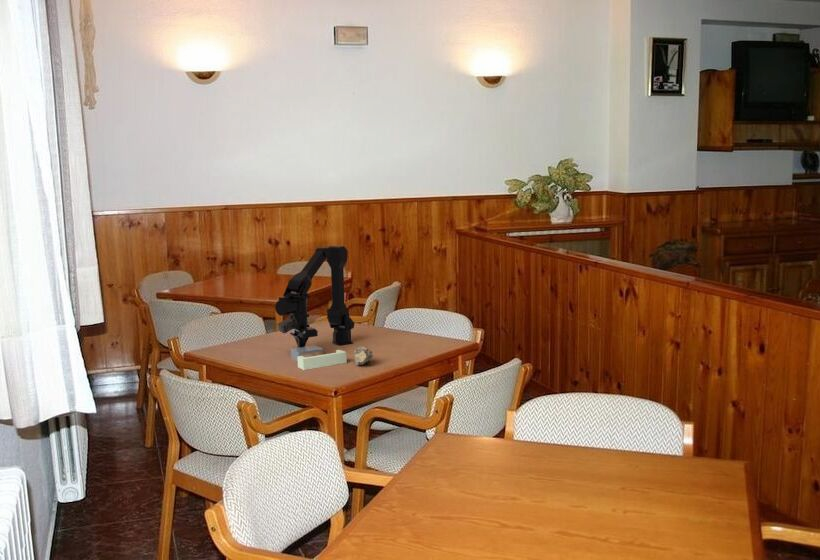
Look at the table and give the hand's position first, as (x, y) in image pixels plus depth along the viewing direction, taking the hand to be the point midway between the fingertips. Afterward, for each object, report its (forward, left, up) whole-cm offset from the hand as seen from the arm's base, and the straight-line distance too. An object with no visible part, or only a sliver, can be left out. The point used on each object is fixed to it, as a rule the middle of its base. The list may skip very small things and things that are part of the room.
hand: (300, 351), depth 318 cm
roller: (0, +13, 0) cm, 13 cm away
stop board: (0, +18, -2) cm, 18 cm away
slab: (0, +5, -2) cm, 5 cm away
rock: (-13, +25, -2) cm, 28 cm away
